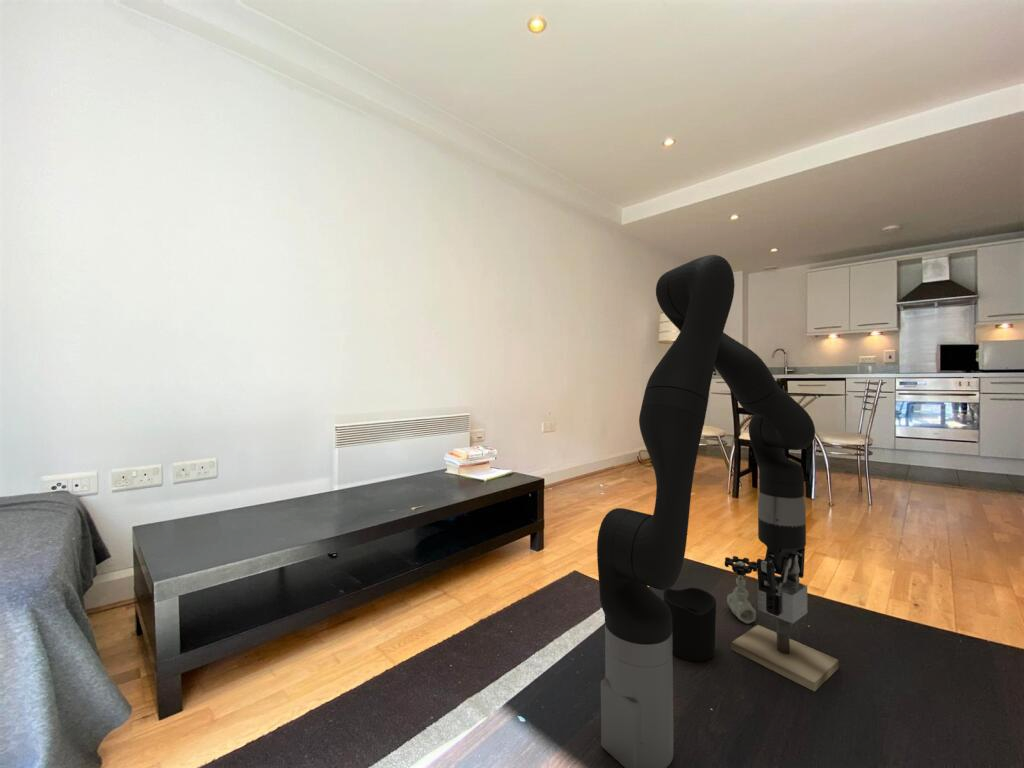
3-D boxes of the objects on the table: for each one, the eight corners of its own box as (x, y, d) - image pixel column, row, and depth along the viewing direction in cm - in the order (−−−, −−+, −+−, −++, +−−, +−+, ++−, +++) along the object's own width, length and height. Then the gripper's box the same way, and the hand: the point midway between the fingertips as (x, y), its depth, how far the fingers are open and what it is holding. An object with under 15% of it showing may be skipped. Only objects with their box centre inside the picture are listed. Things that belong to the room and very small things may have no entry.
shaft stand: (814, 691, 73) (814, 634, 73) (731, 649, 85) (731, 600, 84) (838, 668, 79) (838, 615, 79) (757, 631, 90) (757, 585, 90)
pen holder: (709, 671, 79) (709, 615, 78) (657, 651, 84) (656, 599, 84) (721, 645, 86) (721, 594, 86) (672, 629, 92) (672, 581, 92)
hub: (792, 623, 77) (792, 595, 77) (757, 609, 82) (757, 582, 82) (807, 612, 81) (807, 585, 81) (772, 599, 86) (772, 573, 86)
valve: (750, 609, 99) (749, 556, 99) (764, 625, 92) (763, 568, 92) (719, 608, 100) (719, 555, 100) (731, 624, 93) (730, 568, 93)
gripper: (785, 531, 74) (786, 630, 74) (820, 515, 82) (821, 604, 83) (740, 520, 80) (741, 611, 81) (777, 505, 89) (778, 588, 89)
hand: (782, 607), depth 82 cm, fingers closed on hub, 6 cm apart
